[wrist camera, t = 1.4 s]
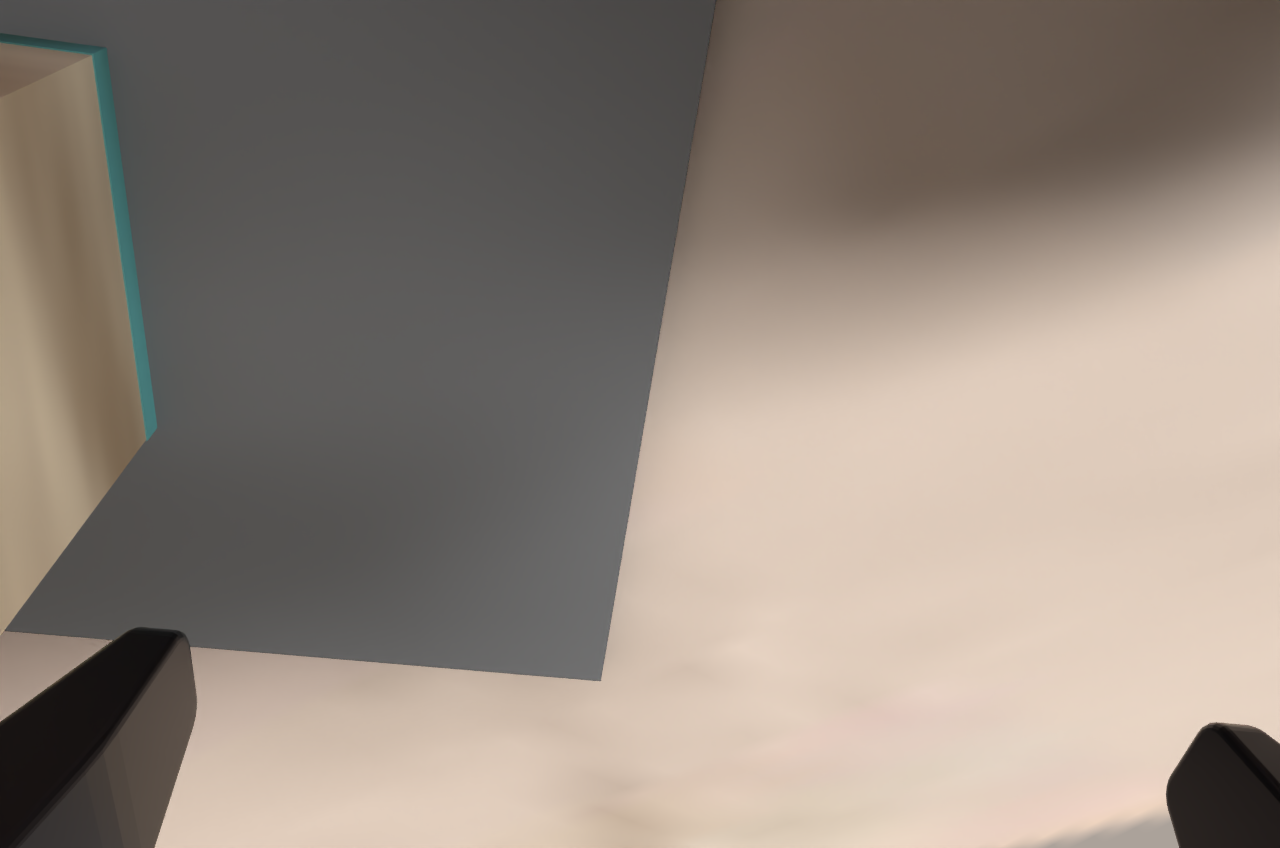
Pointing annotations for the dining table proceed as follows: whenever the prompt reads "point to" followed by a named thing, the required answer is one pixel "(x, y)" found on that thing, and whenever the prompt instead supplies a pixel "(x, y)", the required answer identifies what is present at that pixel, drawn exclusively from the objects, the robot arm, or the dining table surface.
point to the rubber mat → (385, 320)
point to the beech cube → (62, 307)
